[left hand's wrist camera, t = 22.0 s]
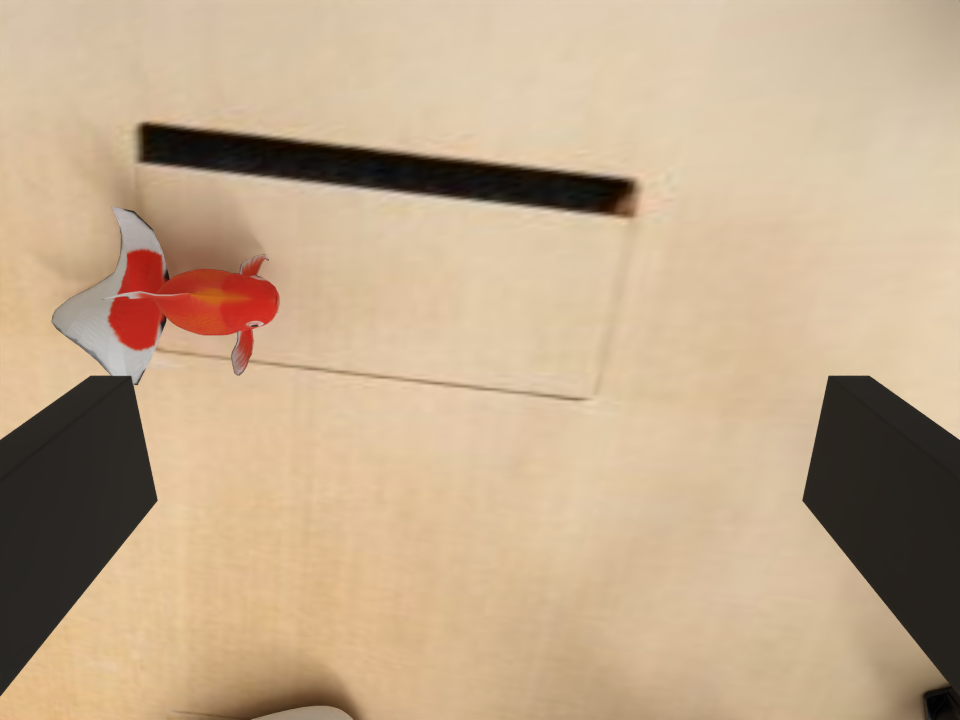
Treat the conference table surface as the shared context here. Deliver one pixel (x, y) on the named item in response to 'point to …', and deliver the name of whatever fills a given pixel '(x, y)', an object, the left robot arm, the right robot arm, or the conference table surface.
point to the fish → (163, 304)
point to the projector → (308, 714)
